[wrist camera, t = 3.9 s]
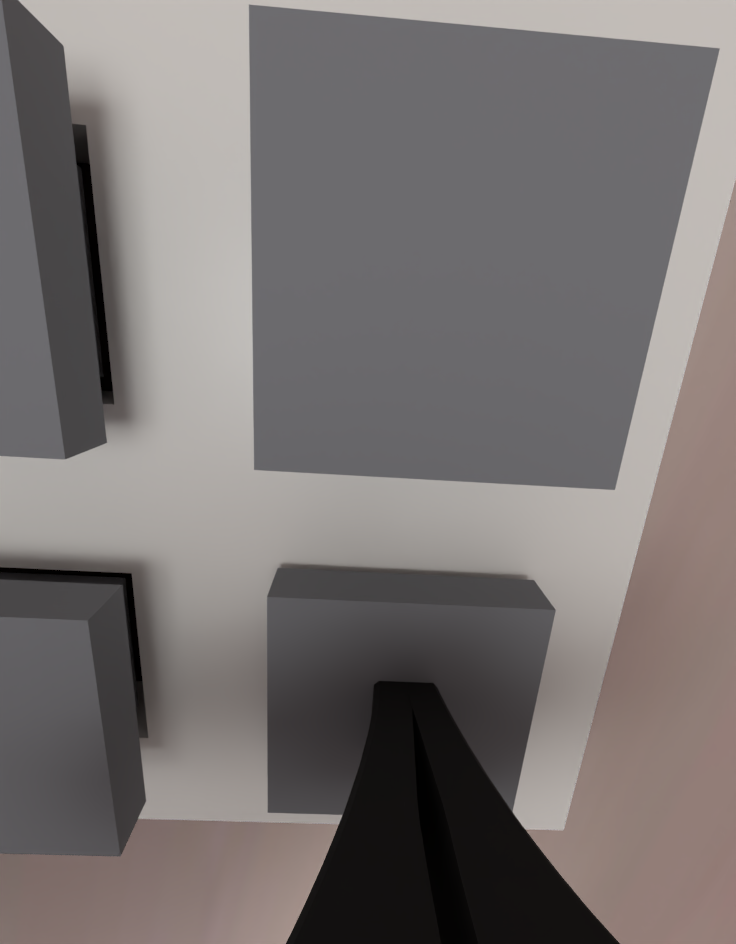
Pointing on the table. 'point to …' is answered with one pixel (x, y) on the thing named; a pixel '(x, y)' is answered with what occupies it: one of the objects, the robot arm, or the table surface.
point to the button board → (231, 405)
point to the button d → (459, 242)
